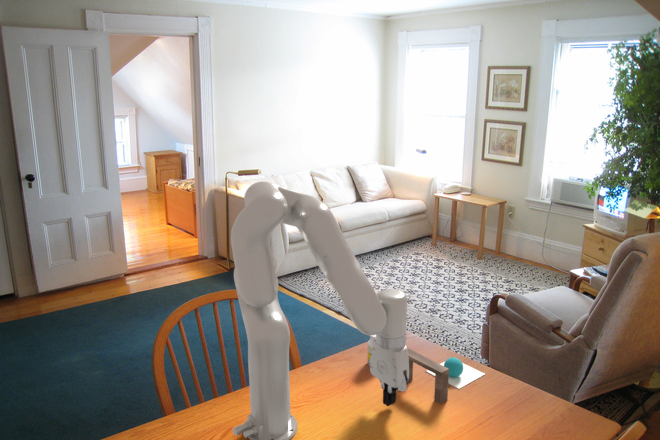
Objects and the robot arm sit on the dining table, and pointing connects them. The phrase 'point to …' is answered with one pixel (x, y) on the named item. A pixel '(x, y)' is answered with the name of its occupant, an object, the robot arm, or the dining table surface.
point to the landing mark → (463, 376)
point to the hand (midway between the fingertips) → (389, 402)
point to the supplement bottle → (370, 347)
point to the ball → (454, 366)
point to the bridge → (436, 368)
